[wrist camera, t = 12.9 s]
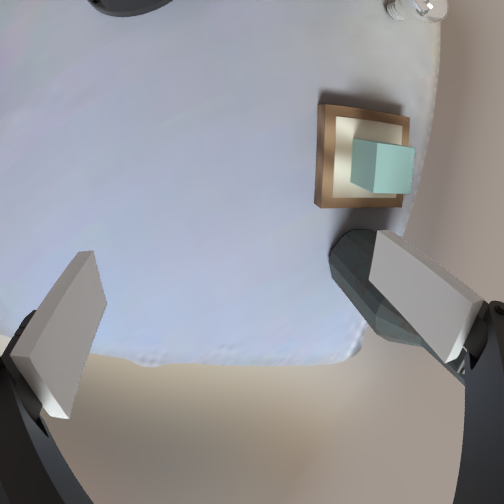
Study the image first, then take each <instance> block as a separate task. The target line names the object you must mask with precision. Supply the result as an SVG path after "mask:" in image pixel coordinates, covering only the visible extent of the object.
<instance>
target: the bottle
mask: <svg viewBox="0 0 504 504" xmlns="http://www.w3.org/2000/svg"><path fill="white" fill-rule="evenodd" d="M376 236H377V234H376V233H375V232H373V231H372V230H353V231H350V232H349V233H347V234H345V235H343V236H342V238H341V239H340V240H339V242H338V243H337V244H336V245H335V247H334V248H333V249H332V251H331V255H330V258H329V264H330V270H331V275H332V278H333V280H334V281H335V282H336V283H337V284H338V286H339V287H340V288H341V289H342V291H343V292H344V293H345V294H346V296H347V297H348V298H349V299H350V301H351V302H352V303H353V305H354V306H355V307H356V308H357V310H358V311H359V312H360V313H361V315H362V316H363V317H364V319H365V320H366V321H367V322H368V324H369V325H370V326H371V328H372V329H373V330H374V332H375V333H376V334H377V335H379V336H381V337H383V338H384V339H386V340H388V341H391V342H397V343H403V344H408V345H414V346H420V347H424V348H425V349H426V350H427V351H428V352H429V353H430V354H431V355H432V356H433V357H435V358H436V359H437V360H438V361H439V362H440V363H441V364H442V365H443V366H444V367H445V368H447V370H448V371H450V372H451V373H452V374H453V375H454V376H455V377H456V378H457V379H458V380H459V381H460V382H461V383H462V384H463V385H464V386H465V374H462V372H463V371H464V369H465V367H462V368H461V370H460V372H459V373H457V369H458V367H459V365H460V364H461V362H462V360H463V358H464V356H465V354H466V351H465V350H464V348H462V350H461V352H460V354H459V355H458V357H457V358H456V359H454V360H452V361H450V362H447V363H444V362H443V361H442V360H441V358H440V357H439V356H438V355H437V354H436V353H435V351H434V350H433V349H432V348H431V347H430V346H429V345H428V343H427V342H426V341H425V340H424V339H423V338H422V337H421V336H420V334H419V333H418V332H417V331H416V330H415V329H414V328H413V327H412V325H411V324H410V323H409V322H408V321H407V320H406V319H405V318H404V317H403V316H402V315H401V313H400V312H399V311H398V310H397V309H396V308H395V307H394V306H393V305H392V304H391V303H390V302H389V301H388V299H387V298H386V297H385V296H384V295H383V294H382V293H381V292H380V291H379V290H378V289H377V288H376V287H375V286H374V285H373V284H372V283H371V282H370V281H369V275H370V270H371V265H372V259H373V254H374V248H375V242H376Z"/></svg>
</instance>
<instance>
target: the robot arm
mask: <svg viewBox="0 0 504 504" xmlns="http://www.w3.org/2000/svg"><path fill="white" fill-rule="evenodd" d="M171 1H172V0H88V2H89V3H90V4H91V5H92V6H93V7H94V8H95V9H96V10H98V11H99V12H101V13H103V14H106V15H110V16H115V17H130V16H136V15H141V14H145V13H148V12H151V11H154V10H156V9H158V8H160V7H162V6H164V5H166V4H168V3H169V2H171ZM369 281H370V282H371V283H372V284H373V285H374V286H375V287H376V288H377V289H378V290H379V291H380V292H381V293H382V294H383V295H384V296H385V297H386V298H387V299H388V301H389V302H390V303H391V304H392V305H393V306H394V307H395V308H396V309H397V310H398V311H399V312H400V313H401V315H402V316H403V317H404V318H405V319H406V320H407V321H408V322H409V323H410V324H411V325H412V327H413V328H414V329H415V330H416V331H417V332H418V333H419V334H420V336H421V337H422V338H423V339H424V340H425V341H426V342H427V343H428V345H429V346H430V347H431V348H432V349H433V350H434V351H435V353H436V354H437V355H438V356H439V357H440V358H441V360H442V361H443V362H444V363H447V362H450V361H452V360H454V359H456V358H457V357H458V355H459V354H460V352H461V350H462V348H463V346H464V347H465V348H466V349H467V352H466V354H465V356H464V358H463V360H462V362H461V364H460V365H459V367H458V369H457V373H459V372H460V370H461V368H462V367H465V369H464V371H463V372H462V374H465V418H464V433H463V434H464V435H463V445H462V454H461V462H460V469H459V476H458V481H457V486H456V492H455V497H454V501H453V504H504V303H502V302H499V301H491V302H490V303H489V304H488V303H487V302H486V301H484V299H483V298H482V297H480V296H479V295H478V294H477V293H475V292H474V291H473V290H472V289H470V288H469V287H468V286H467V285H465V284H464V283H463V282H462V281H460V280H459V279H458V278H456V277H455V276H454V275H452V274H451V273H450V272H448V271H447V270H446V269H445V268H443V267H442V266H440V265H439V264H438V263H436V262H435V261H434V260H432V259H431V258H430V257H428V256H427V255H425V254H424V253H423V252H421V251H420V250H418V249H417V248H415V247H414V246H413V245H411V244H410V243H408V242H407V241H405V240H404V239H402V238H401V237H400V236H398V235H397V234H395V233H394V232H392V231H391V230H377V236H376V242H375V248H374V254H373V259H372V265H371V270H370V275H369ZM106 306H107V301H106V298H105V294H104V291H103V287H102V283H101V280H100V276H99V272H98V268H97V264H96V259H95V255H94V251H83V252H78V253H77V255H76V256H75V257H74V259H73V260H72V261H71V262H70V264H69V265H68V266H67V268H66V269H65V270H64V272H63V273H62V274H61V276H60V277H59V279H58V280H57V281H56V283H55V284H54V286H53V287H52V288H51V290H50V291H49V293H48V294H47V296H46V297H45V299H44V300H43V302H42V303H41V305H40V306H39V308H38V309H37V310H33V311H32V312H31V313H30V314H29V315H28V316H26V317H25V318H24V320H23V321H22V323H21V325H20V326H19V329H17V331H16V332H15V334H14V335H15V336H13V337H12V339H11V341H10V342H9V344H8V346H7V348H6V349H5V351H4V353H3V354H2V356H1V357H0V504H94V503H93V502H92V501H91V499H90V498H89V496H88V495H87V494H86V492H85V491H84V489H83V488H82V486H81V485H80V483H79V482H78V480H77V479H76V477H75V476H74V474H73V473H72V471H71V469H70V468H69V466H68V464H67V463H66V461H65V459H64V457H63V456H62V454H61V452H60V451H59V449H58V447H57V445H56V443H55V441H54V439H53V437H52V435H51V433H50V432H49V429H48V428H47V425H46V423H45V421H44V420H43V418H42V417H41V416H40V411H41V408H42V406H43V407H44V408H45V410H46V411H47V412H48V414H49V415H50V416H52V417H58V418H66V419H69V418H70V414H71V410H72V406H73V403H74V399H75V395H76V392H77V389H78V385H79V382H80V379H81V375H82V372H83V369H84V366H85V363H86V360H87V357H88V354H89V351H90V348H91V346H92V343H93V340H94V337H95V334H96V332H97V329H98V326H99V324H100V321H101V318H102V316H103V313H104V311H105V308H106Z"/></svg>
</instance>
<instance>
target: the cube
mask: <svg viewBox="0 0 504 504" xmlns="http://www.w3.org/2000/svg"><path fill="white" fill-rule="evenodd" d="M414 155H415V148H412V147H407V146H403V145H398V144H393V143H387V142H379V141H371V140H361V139H353V145H352V163H351V177H350V182H351V183H353V184H355V185H357V186H360V187H362V188H364V189H366V190H368V191H370V192H372V193H396V194H410V192H411V184H412V175H413V166H414Z"/></svg>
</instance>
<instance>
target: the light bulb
mask: <svg viewBox="0 0 504 504" xmlns="http://www.w3.org/2000/svg"><path fill="white" fill-rule="evenodd" d="M387 11H388V13H389V15H390V16H391V17H392V18H393V19H395V20H399V21H401V20H404V19H416V20H418V21H421V22H423V23H437V22H440V21H442V20H443V19H444V18H445V17H446V15H447V13H448V2H447V0H395V1H394V2H391V3H389V4H388V5H387Z"/></svg>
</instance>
